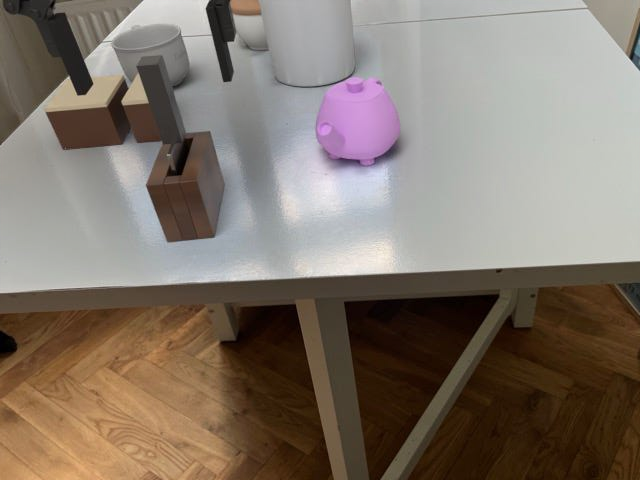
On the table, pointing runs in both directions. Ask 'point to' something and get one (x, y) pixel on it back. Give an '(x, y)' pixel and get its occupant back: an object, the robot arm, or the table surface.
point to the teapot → (357, 120)
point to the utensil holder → (309, 40)
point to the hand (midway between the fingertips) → (157, 83)
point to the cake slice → (140, 113)
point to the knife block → (188, 190)
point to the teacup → (152, 49)
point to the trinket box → (249, 23)
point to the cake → (90, 113)
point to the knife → (164, 110)
